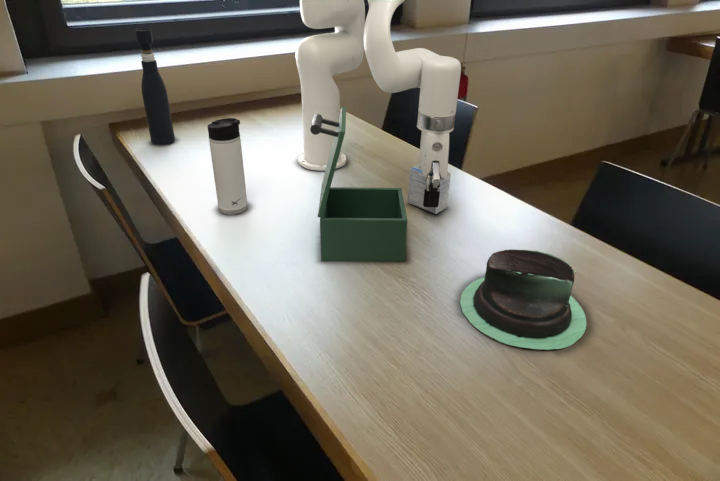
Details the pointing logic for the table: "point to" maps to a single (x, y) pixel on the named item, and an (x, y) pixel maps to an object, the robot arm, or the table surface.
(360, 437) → the table surface
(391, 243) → the chest
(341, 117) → the lid
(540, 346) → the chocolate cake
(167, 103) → the dark blue water bottle
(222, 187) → the travel mug
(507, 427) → the table surface
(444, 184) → the medicine box
